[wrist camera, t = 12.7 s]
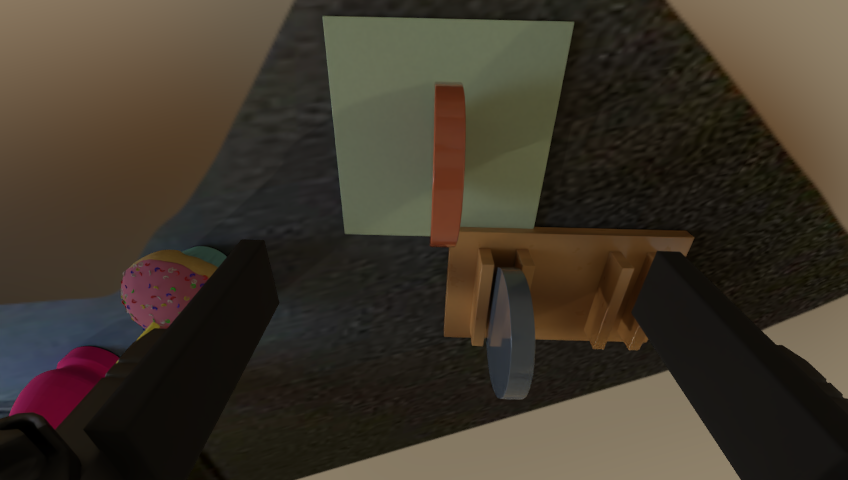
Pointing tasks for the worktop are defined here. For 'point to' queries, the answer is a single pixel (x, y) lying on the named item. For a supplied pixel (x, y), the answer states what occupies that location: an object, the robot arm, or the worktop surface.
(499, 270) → the slate coaster
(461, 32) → the sage mat
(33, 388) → the pepper mill
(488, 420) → the worktop surface
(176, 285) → the cupcake
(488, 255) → the coaster rack
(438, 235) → the terracotta coaster
